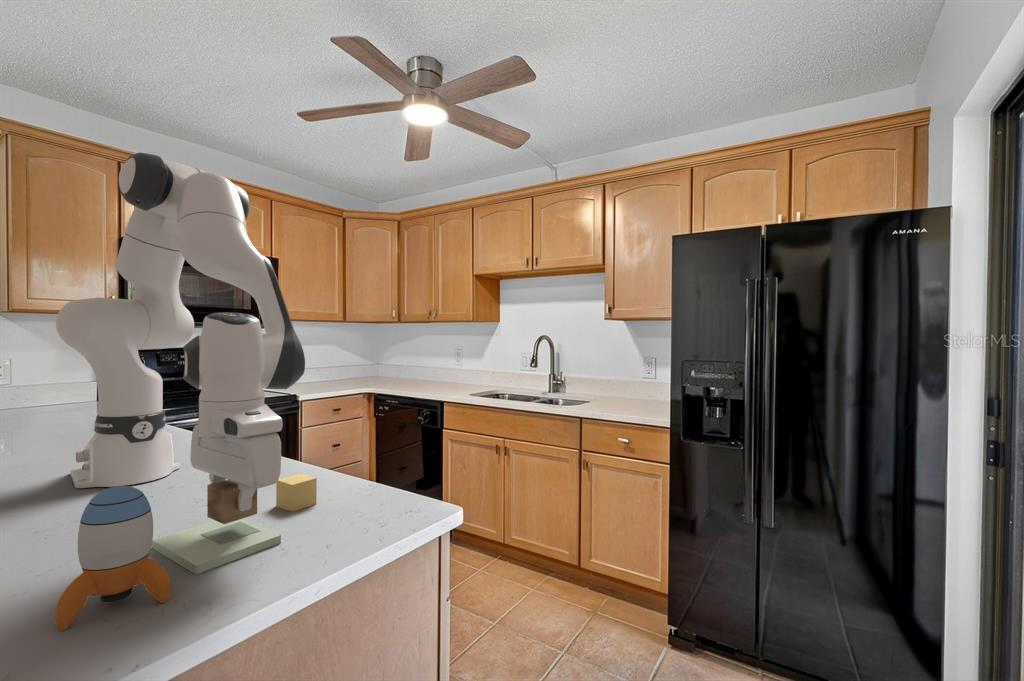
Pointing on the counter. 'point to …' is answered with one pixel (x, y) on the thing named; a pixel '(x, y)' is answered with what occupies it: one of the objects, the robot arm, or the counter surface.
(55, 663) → the counter surface
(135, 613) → the counter surface
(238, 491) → the walnut block
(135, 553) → the toy rocket
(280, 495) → the ochre block
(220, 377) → the robot arm
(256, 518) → the counter surface
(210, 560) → the plate
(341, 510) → the counter surface
